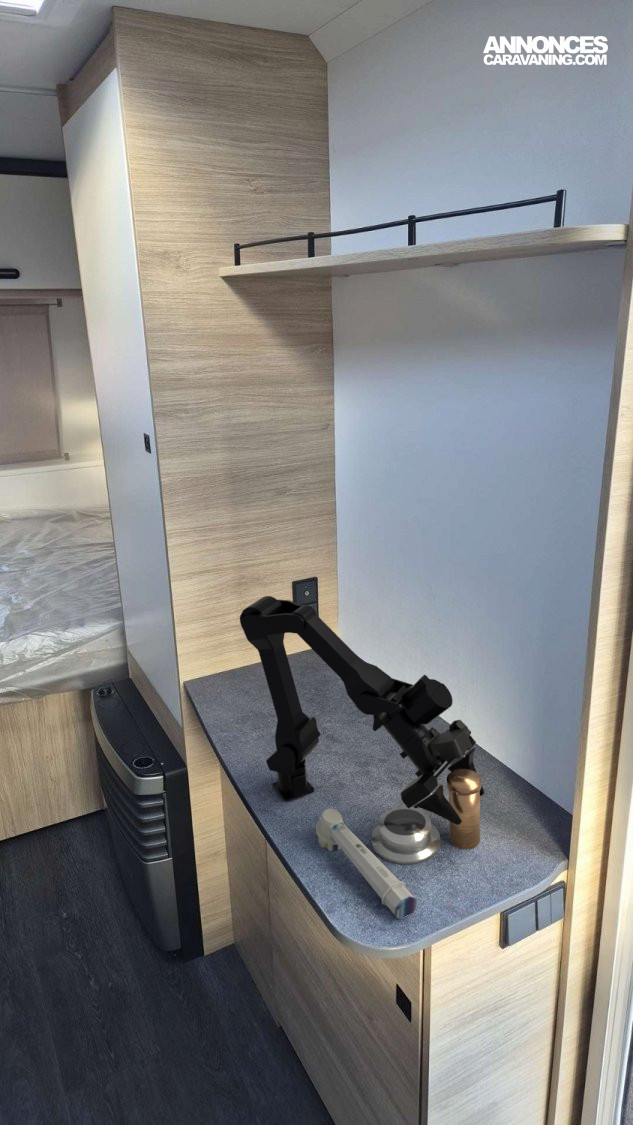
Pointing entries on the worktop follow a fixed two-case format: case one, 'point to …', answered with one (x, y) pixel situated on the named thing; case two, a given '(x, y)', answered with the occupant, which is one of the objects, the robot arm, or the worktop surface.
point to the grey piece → (365, 863)
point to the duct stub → (405, 836)
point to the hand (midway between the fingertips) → (471, 808)
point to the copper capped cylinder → (465, 807)
